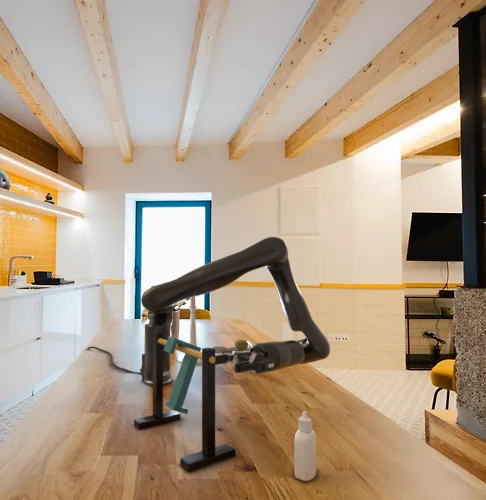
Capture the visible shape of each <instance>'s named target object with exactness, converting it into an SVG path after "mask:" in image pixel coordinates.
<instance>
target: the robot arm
mask: <svg viewBox="0 0 486 500" xmlns="http://www.w3.org/2000/svg"><path fill="white" fill-rule="evenodd" d="M264 267H265V268H266V270H267V272H268V273H269V275H270V277H271V278H272V280H273V283H274V285H275V288H276V291H277V294H278V297H279V301H280V304H281V307H282V310H283V313H284V315H285V318H286V320H287V323H288V326H289V328H290V329H291V330H292V331H293V332H301V333H302V334H303V335H304V336H305V337H304V338H301V339H298V340H295V339H289V340H288V339H287V340H279V341H277V340H276V341H267V342H259V344H258V343H257V344H256V343H255V344H254V345H253V347H252V348H251V350H250V351H241V350H239V349H237V350H229V351H222V354H215V366H216V365H217V366H218V365H223V364H233V366H234V365H235V369H234V372H235V373H237V374H239V373H240V374H241V373H245V372H250V373H253V372H254V373H256V374H264V373H268V372H274V371H278V370H282V369H285V368H288V367H294V366H297V365H305V364H310V363H315V362H318V361H322V360H326V359H327V358H328V357H329V356H330V354H331V346H330V343H329V341H328V338H327V337H326V336H325V334H324V333H323V331H322V330H321V329H320V328H319V326H318V325H317V323H316V322H315V321H314V319H313V317H312V315H311V312H310V310H309V307H308V305H307V303H306V301H305V298H304V297H303V293H302V292H301V290H300V288H299V286H298V285H297V282H296V280H295V277H294V275H293V272H292V269H291V263H290V258H289V250H288V246H287V243H286V241H284V240H283V238H280V237H277V236H268V237H265V238H263V239H261V240H259V241H258V242H255V243H254V244H252V245H250V246H248V247H246V248H244V249H242V250H239V251H237V252H235V253H232V254H228V255H226V256H224V257H221V258H218V259H215V260H213V261H211V262H207V263H206V264H203V265H201V266H199V267H196V268H193V269H192V270H191V271H189V272H186V273H184V274H183V275H181V276H179V277H177V278H175V279H173V280H170V281H166V282H163V283H160V284H156V285H152V286H149V287H147V288H146V289H145V290H144V292H143V293H142V295H141V298H140V299H141V300H140V302H141V306H142V308H143V309H145V310H146V311H147V318H146V321H145V322H144V330H143V331H144V339H143V341H144V351H143V353H141V368H139V371H140V372H137V371H132V370H129V369H128V368H124V367H122V366H121V367H120V366H118V365H116V364H115V362H114V359H113V354H112V353H111V352H109V351H108V350H105V349H102V348H100V347H97V346H94V345H93V346H89V347H87V348H86V351H89V350H90V349H95V350H97V351H100V352H102V353H105V354H108V355H109V357H110V363H111V365H112V366H113V367H114V368H116V369H118V370H120V371H123V372H126V373H130V374H137V375H141V383H144V384H147V385H150V386H153V332H159V331H160V332H163V339H165V340H167V339H168V336H170V337H172V324H173V319H174V317H173V316H174V305H175V304H177V303H180V302H181V301H184V300H187V299H191V297H195V298H196V297H199V296H202V295H206V294H209V293H213V292H214V291H217V290H220V289H222V288H225V287H227V286H229V285H231V284H232V283H234V282H235V281H237V280H238V279H240V278H241V277H244V275H246V274H248V273H250V272H252V271H255V270H258V269H261V268H264ZM164 348H165V345H163V386H164V385H168V384H170V383H171V382H172V354H171V353H168V352H166V351H164ZM238 359H239V362H237V361H236V360H238Z"/></svg>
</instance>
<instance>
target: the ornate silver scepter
mask: <svg viewBox="0 0 486 500" xmlns="http://www.w3.org/2000/svg"><path fill="white" fill-rule="evenodd" d="M246 341H247V343H248V347H247V351H250V350H251V348H252V347H253V346H254V345H253V344H252V342H251V341H249V340H246ZM255 344H260V342H255ZM212 348H213V349H215V354H216V355H222V351H229V350H236V348H235V346H231V347H226V346H222V345H221V346H220V345H216V346H213V347H212Z"/></svg>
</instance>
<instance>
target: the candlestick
mask: <svg viewBox="0 0 486 500" xmlns="http://www.w3.org/2000/svg"><path fill="white" fill-rule="evenodd" d="M188 307H189V311H190V316H189V317H190V320H189V336H188V337H189V338H188V339H189V340H188V343H189V344H192V345H195V346H197V347H198V344H197V343H198V342H197V326H196V325H197V323H196V311H197V307H198V305H196V296H195V297H191V298H190V305H188ZM184 355H185V353H183V354H181V355H179V356H178V357H177V362H178V363H181V364H182V361H183V358H184ZM196 365H202V359H199V358H198V360H197V363H196Z"/></svg>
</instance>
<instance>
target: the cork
mask: <svg viewBox="0 0 486 500" xmlns="http://www.w3.org/2000/svg"><path fill="white" fill-rule="evenodd" d="M247 341H248V340H245V339H236V340H235V341H234V347H235V348H236V350H237V349H239V350H241V351H247V347H248V343H247ZM248 348H249V347H248ZM236 361H237V362H239V359H238V360H236ZM233 369H234V370H235V365H234V364H233Z"/></svg>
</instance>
